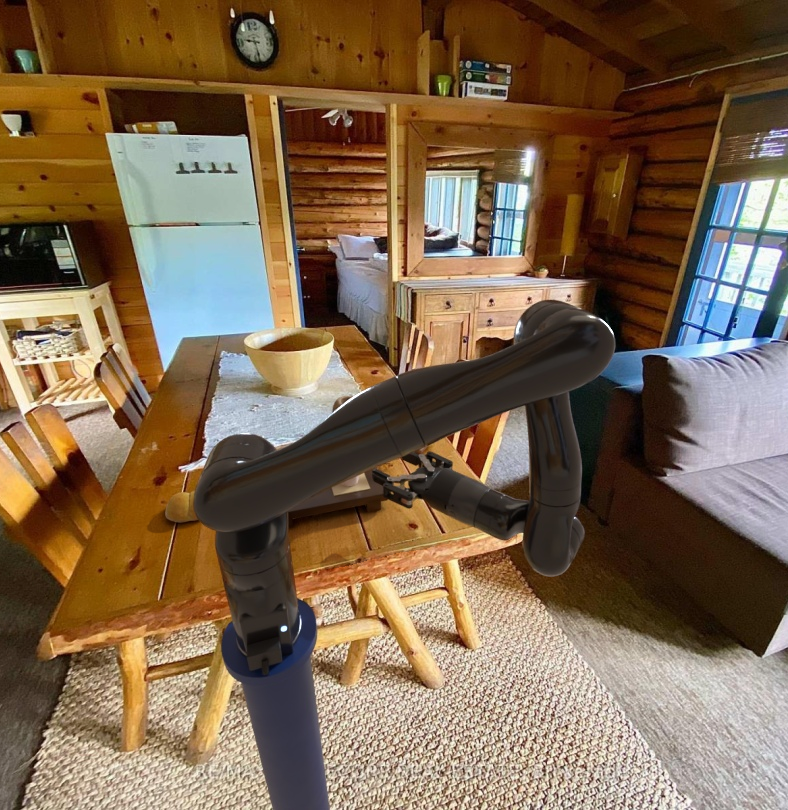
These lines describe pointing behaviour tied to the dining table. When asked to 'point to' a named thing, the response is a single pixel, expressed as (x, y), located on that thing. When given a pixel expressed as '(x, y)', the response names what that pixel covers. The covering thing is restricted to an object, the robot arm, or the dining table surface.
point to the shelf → (342, 498)
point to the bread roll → (181, 507)
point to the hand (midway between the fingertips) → (388, 463)
